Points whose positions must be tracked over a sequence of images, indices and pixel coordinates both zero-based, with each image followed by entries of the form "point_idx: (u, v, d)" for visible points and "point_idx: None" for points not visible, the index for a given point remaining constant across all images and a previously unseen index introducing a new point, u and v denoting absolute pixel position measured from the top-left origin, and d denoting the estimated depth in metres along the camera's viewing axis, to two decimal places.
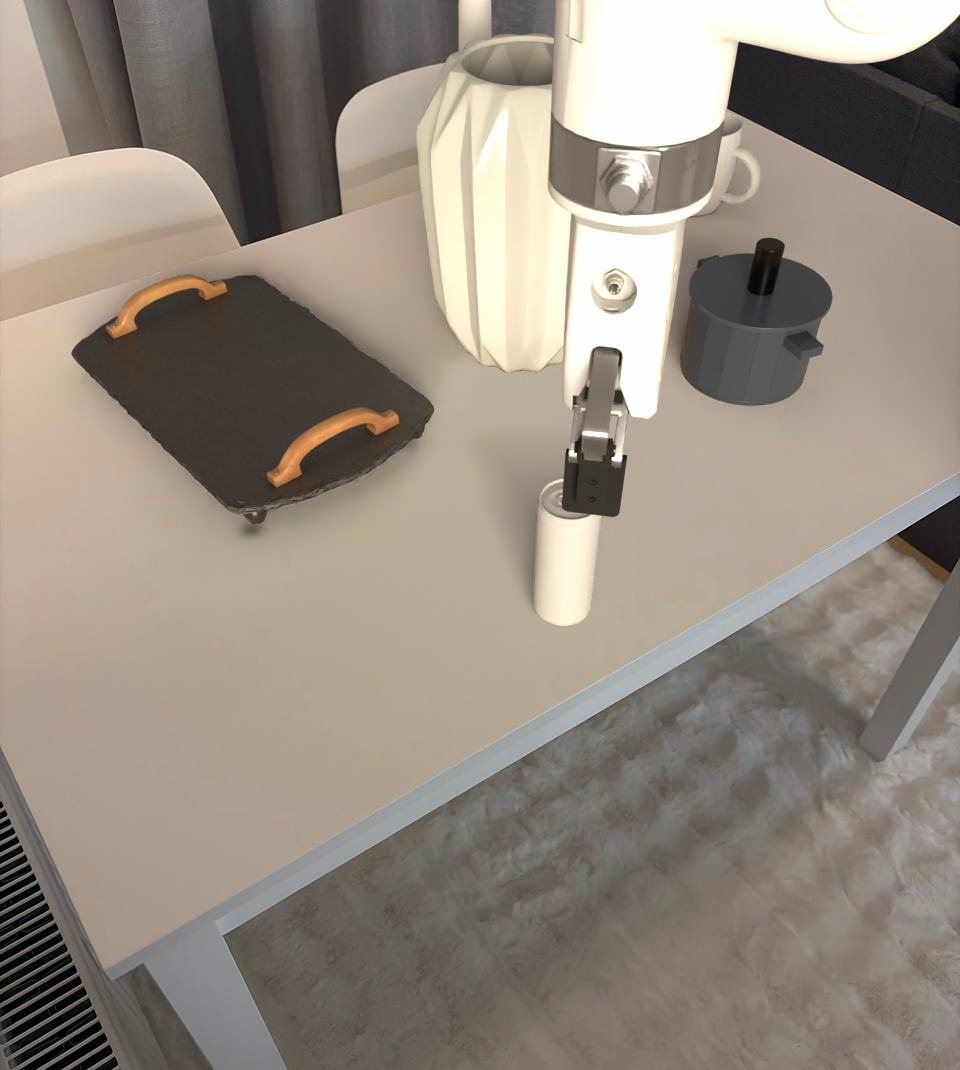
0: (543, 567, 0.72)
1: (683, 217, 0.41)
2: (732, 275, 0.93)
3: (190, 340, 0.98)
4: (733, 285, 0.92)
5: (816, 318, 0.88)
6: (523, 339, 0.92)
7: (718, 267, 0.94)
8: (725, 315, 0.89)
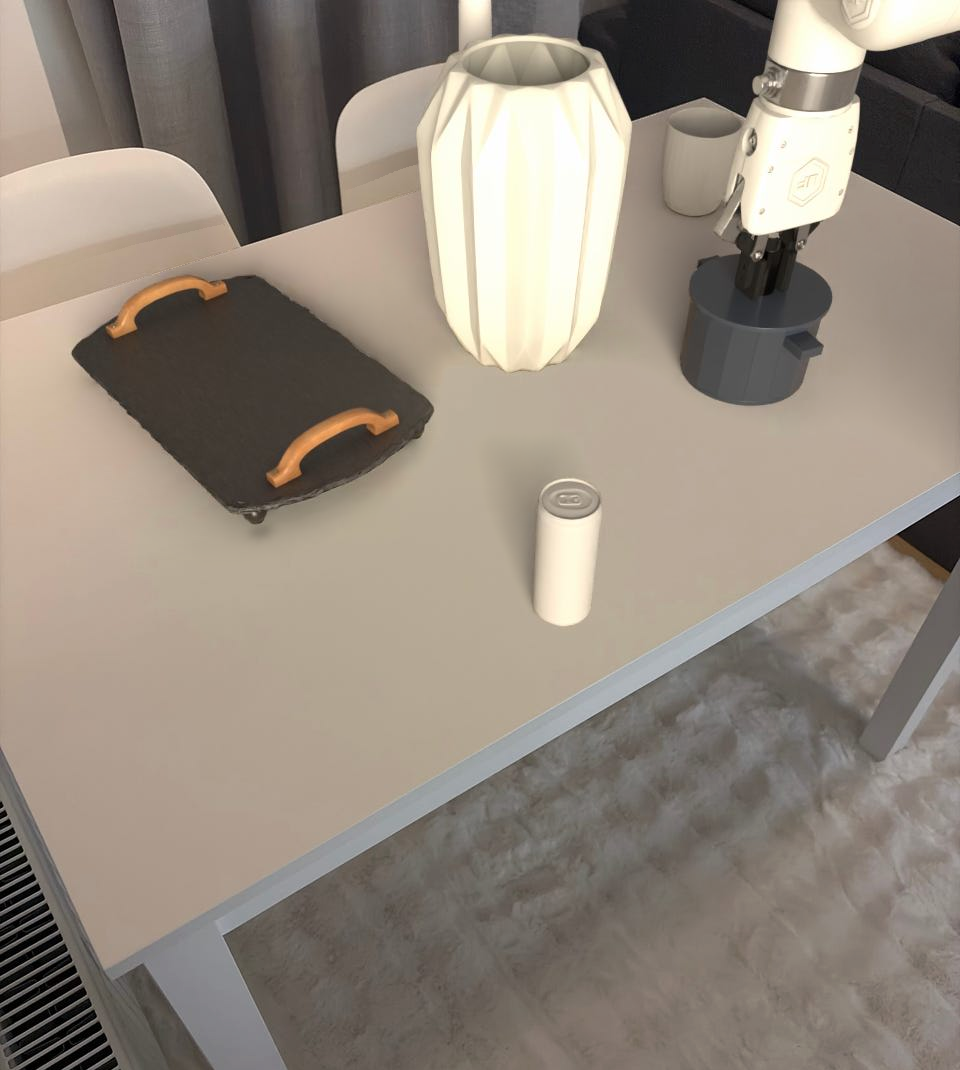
0: (543, 567, 0.72)
1: (796, 116, 0.76)
2: (732, 275, 0.93)
3: (190, 340, 0.98)
4: (733, 285, 0.92)
5: (817, 318, 0.88)
6: (523, 339, 0.92)
7: (718, 267, 0.94)
8: (725, 315, 0.89)
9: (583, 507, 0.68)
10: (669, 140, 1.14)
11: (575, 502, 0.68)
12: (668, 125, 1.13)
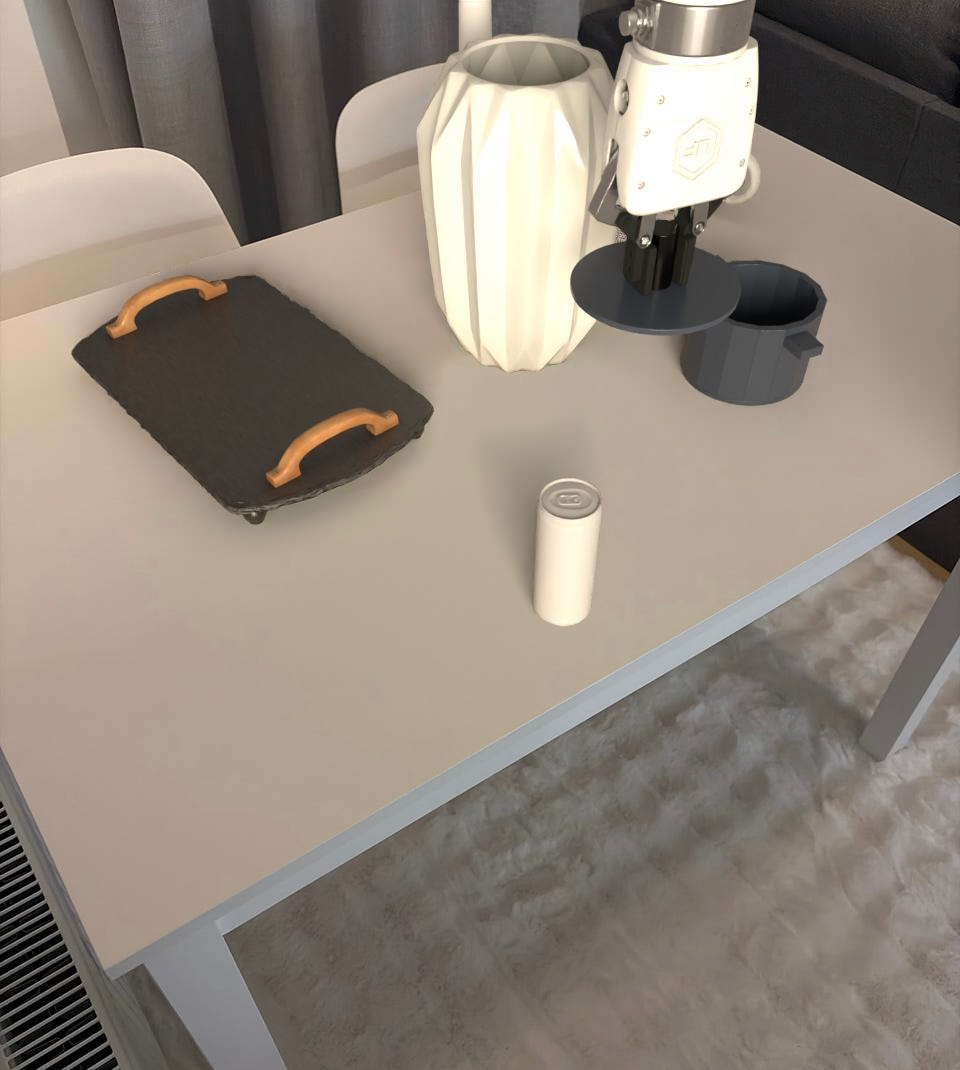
0: (543, 567, 0.72)
1: (674, 63, 0.60)
2: None
3: (190, 340, 0.98)
4: (623, 277, 0.76)
5: (718, 317, 0.72)
6: (523, 339, 0.92)
7: (608, 255, 0.78)
8: (608, 313, 0.73)
9: (583, 507, 0.68)
10: None
11: (575, 502, 0.68)
12: None
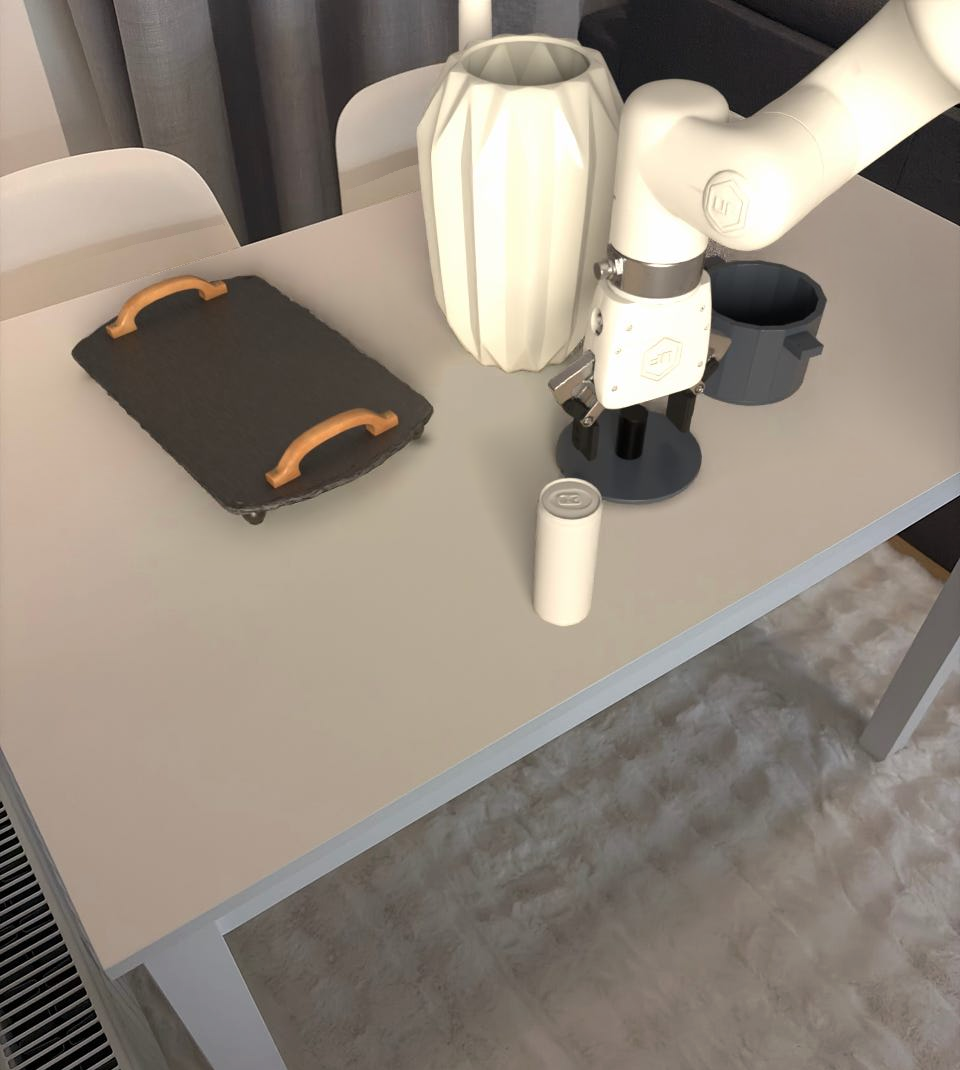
0: (543, 567, 0.72)
1: (639, 302, 0.73)
2: (601, 434, 0.90)
3: (190, 340, 0.98)
4: (601, 446, 0.89)
5: (681, 488, 0.85)
6: (523, 339, 0.92)
7: None
8: None
9: (583, 507, 0.68)
10: None
11: (575, 502, 0.68)
12: None
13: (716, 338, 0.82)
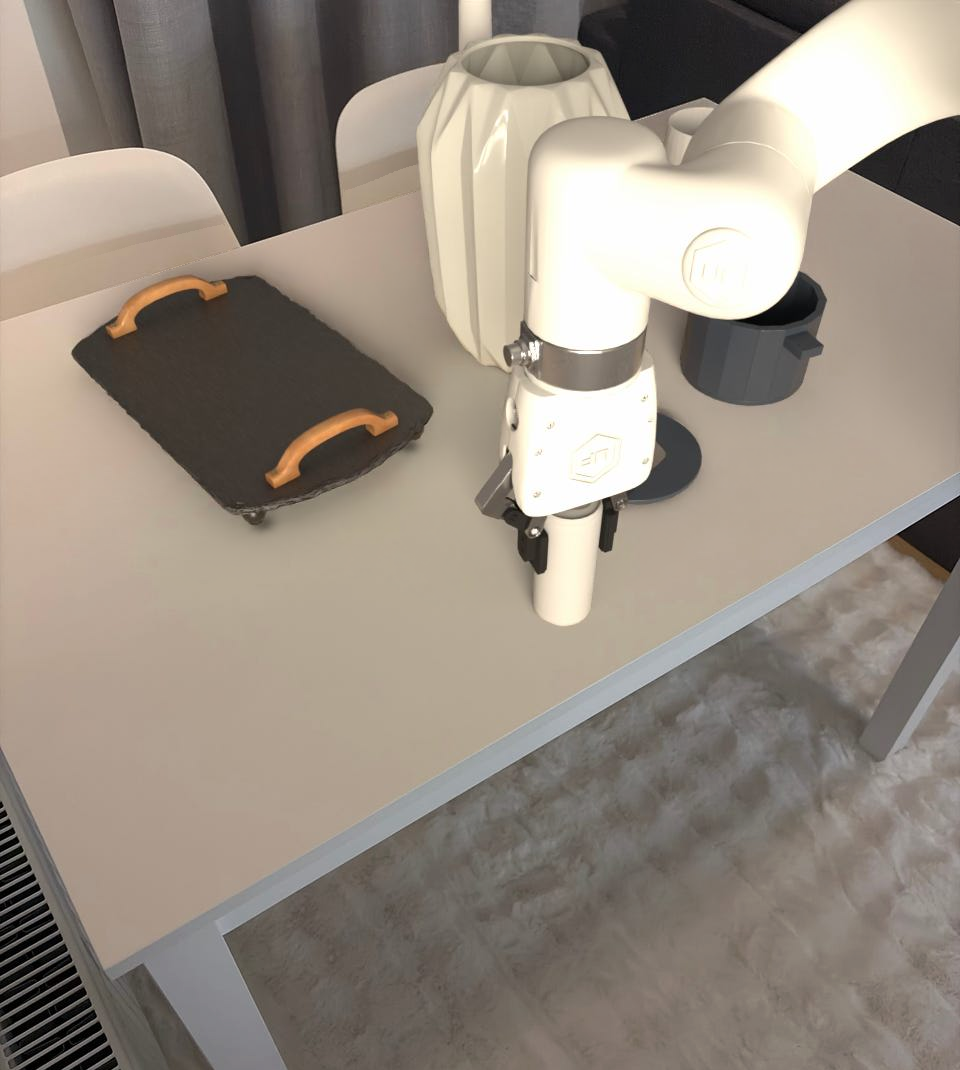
0: None
1: (562, 395, 0.57)
2: None
3: (190, 340, 0.98)
4: None
5: (681, 488, 0.85)
6: None
7: None
8: None
9: (583, 507, 0.68)
10: (669, 140, 1.14)
11: None
12: (668, 125, 1.13)
13: None
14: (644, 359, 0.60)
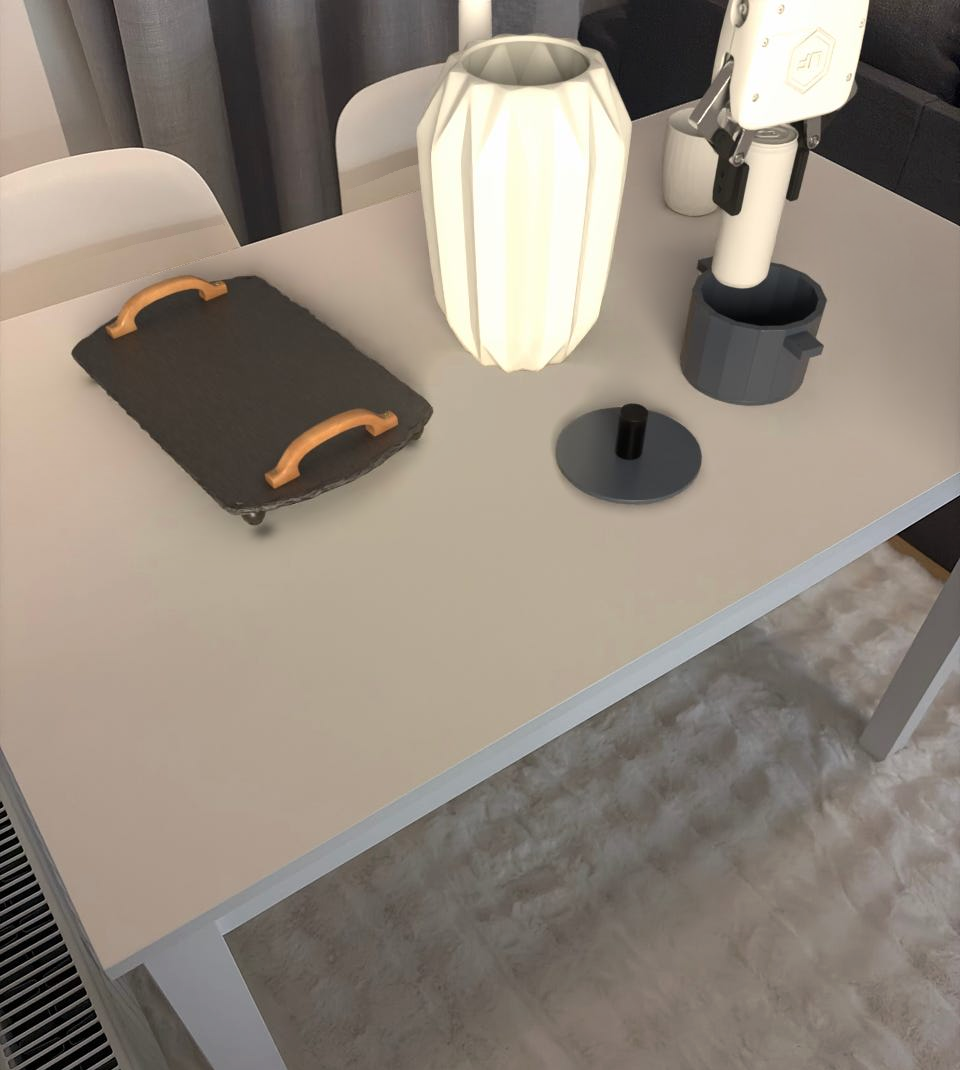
0: None
1: None
2: (601, 434, 0.90)
3: (190, 340, 0.98)
4: (601, 446, 0.89)
5: (681, 488, 0.85)
6: (523, 339, 0.92)
7: (589, 424, 0.91)
8: (587, 484, 0.86)
9: (781, 138, 0.73)
10: (669, 140, 1.14)
11: (773, 135, 0.73)
12: (668, 125, 1.13)
13: None
14: None
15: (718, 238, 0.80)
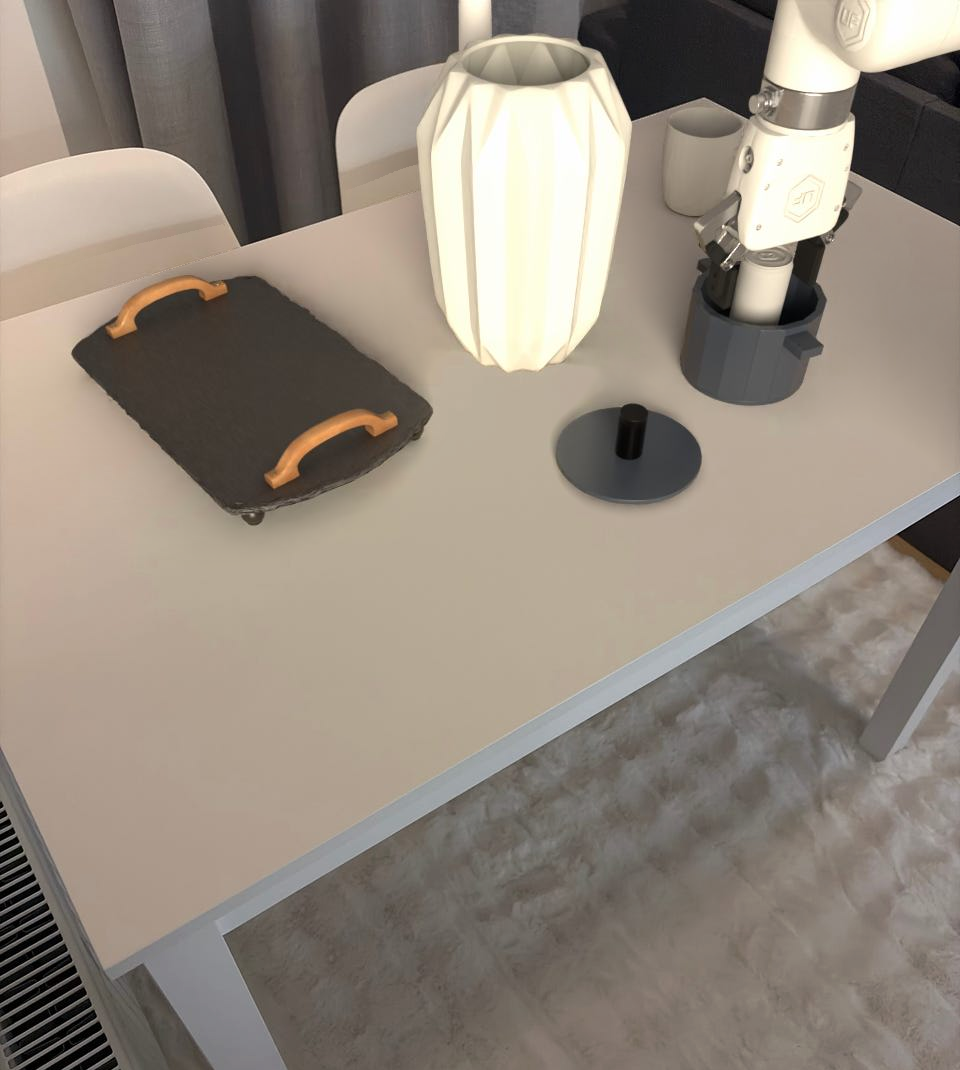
0: (741, 317, 0.92)
1: (792, 135, 0.77)
2: (601, 434, 0.90)
3: (190, 340, 0.98)
4: (601, 446, 0.89)
5: (681, 488, 0.85)
6: (523, 339, 0.92)
7: (589, 424, 0.91)
8: (587, 484, 0.86)
9: (779, 260, 0.88)
10: (669, 140, 1.14)
11: (773, 257, 0.89)
12: (668, 125, 1.13)
13: (849, 186, 0.86)
14: None
15: None
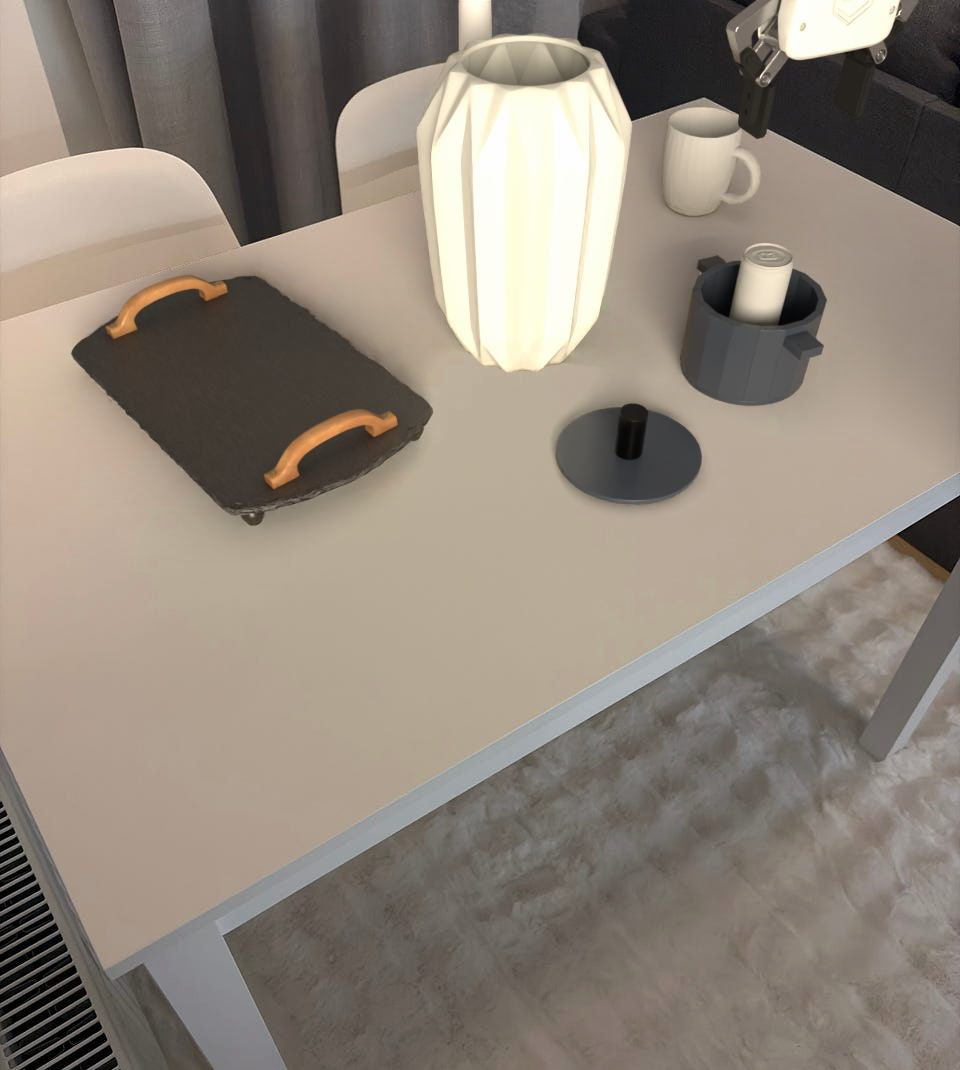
0: (741, 317, 0.92)
1: None
2: (601, 434, 0.90)
3: (190, 341, 0.98)
4: (601, 446, 0.89)
5: (681, 488, 0.85)
6: (523, 339, 0.92)
7: (589, 424, 0.91)
8: (587, 484, 0.86)
9: (779, 260, 0.88)
10: (669, 140, 1.14)
11: (773, 257, 0.89)
12: (668, 125, 1.13)
13: None
14: None
15: None
